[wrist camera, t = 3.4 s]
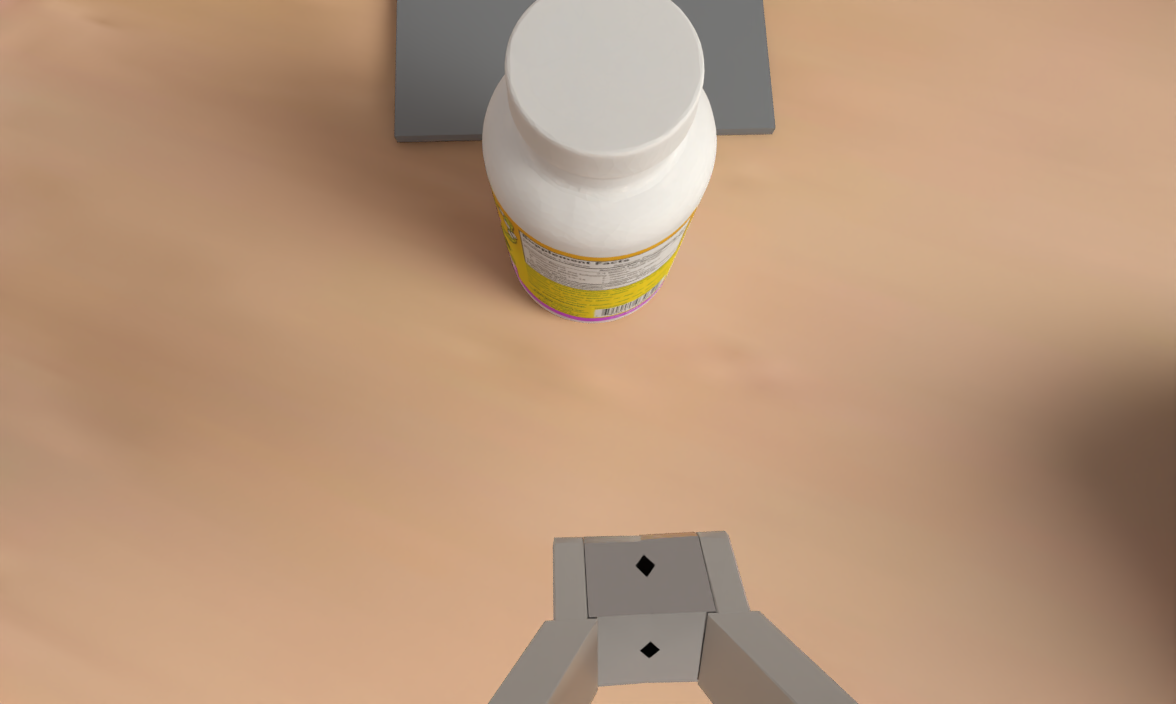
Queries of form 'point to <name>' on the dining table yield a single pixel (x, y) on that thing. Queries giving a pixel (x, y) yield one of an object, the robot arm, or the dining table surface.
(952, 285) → the dining table surface
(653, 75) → the supplement bottle
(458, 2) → the mat
